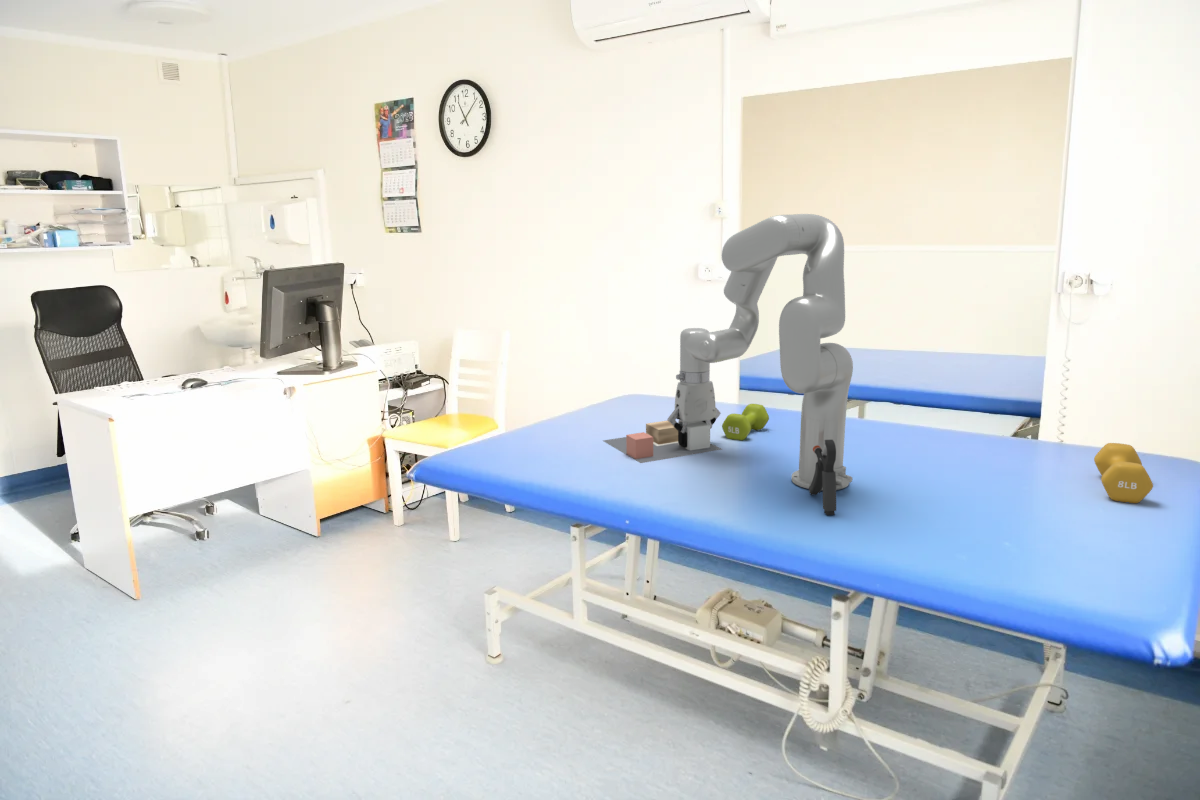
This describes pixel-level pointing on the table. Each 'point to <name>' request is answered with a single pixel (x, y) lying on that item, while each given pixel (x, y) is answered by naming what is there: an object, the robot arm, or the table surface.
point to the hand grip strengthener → (825, 476)
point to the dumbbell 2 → (1123, 473)
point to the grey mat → (660, 450)
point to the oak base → (662, 432)
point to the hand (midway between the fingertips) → (694, 443)
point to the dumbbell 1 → (745, 422)
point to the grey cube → (698, 435)
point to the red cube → (639, 445)
